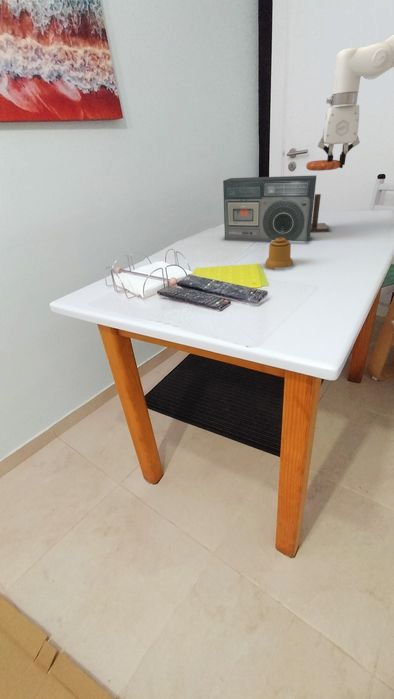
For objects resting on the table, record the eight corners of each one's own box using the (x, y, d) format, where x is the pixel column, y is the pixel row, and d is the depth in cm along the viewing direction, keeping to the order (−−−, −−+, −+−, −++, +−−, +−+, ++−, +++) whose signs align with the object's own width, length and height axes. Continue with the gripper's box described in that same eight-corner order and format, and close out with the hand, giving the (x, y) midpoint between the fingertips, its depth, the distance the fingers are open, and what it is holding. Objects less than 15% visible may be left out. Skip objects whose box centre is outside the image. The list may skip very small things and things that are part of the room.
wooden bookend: (324, 226, 130) (328, 191, 124) (328, 232, 123) (333, 195, 116) (300, 227, 132) (303, 193, 125) (302, 233, 125) (306, 197, 118)
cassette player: (224, 241, 124) (223, 180, 113) (231, 236, 129) (230, 178, 118) (306, 244, 112) (312, 178, 102) (309, 239, 117) (316, 175, 107)
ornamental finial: (284, 273, 92) (260, 268, 96) (296, 265, 96) (273, 261, 101) (286, 243, 87) (261, 240, 92) (299, 236, 92) (275, 234, 96)
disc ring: (336, 166, 118) (337, 158, 117) (342, 169, 109) (343, 161, 108) (304, 168, 120) (305, 161, 119) (308, 171, 111) (309, 163, 110)
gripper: (318, 102, 103) (311, 170, 112) (375, 97, 100) (363, 167, 110) (314, 104, 109) (308, 168, 119) (368, 99, 106) (357, 165, 116)
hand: (335, 167), depth 114 cm, fingers closed on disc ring, 2 cm apart
